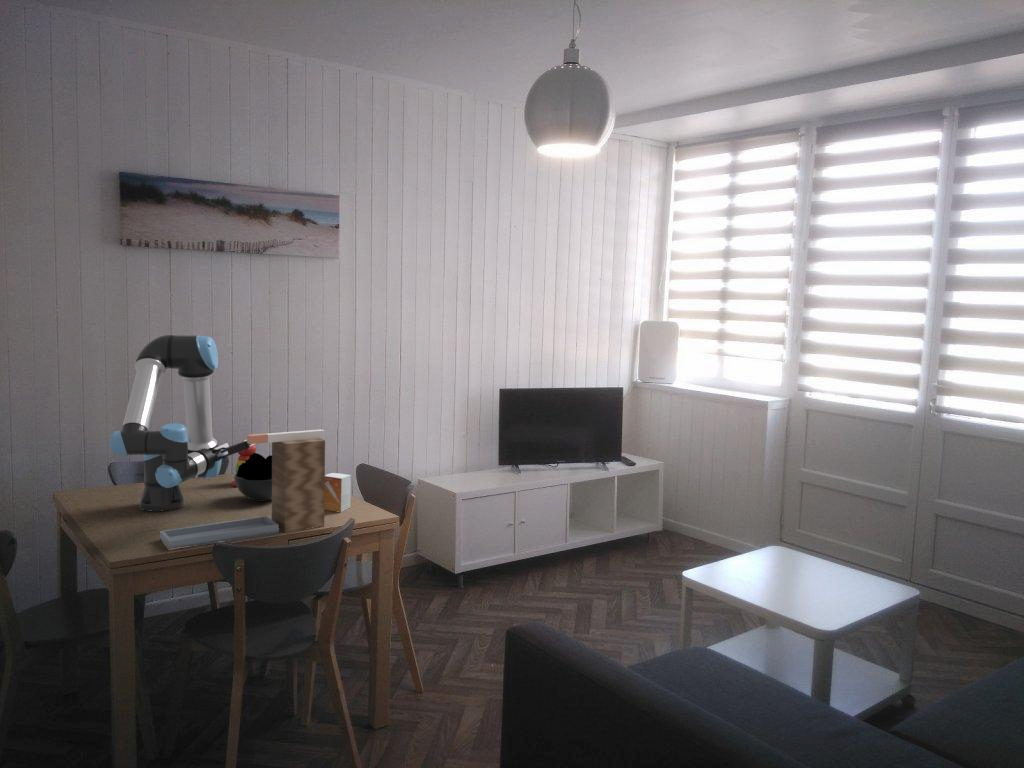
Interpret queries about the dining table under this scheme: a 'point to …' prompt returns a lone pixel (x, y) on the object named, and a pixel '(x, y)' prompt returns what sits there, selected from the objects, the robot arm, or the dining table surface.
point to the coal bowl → (255, 477)
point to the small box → (337, 492)
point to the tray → (219, 532)
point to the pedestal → (298, 484)
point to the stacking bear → (243, 458)
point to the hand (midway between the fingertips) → (242, 442)
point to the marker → (285, 436)
